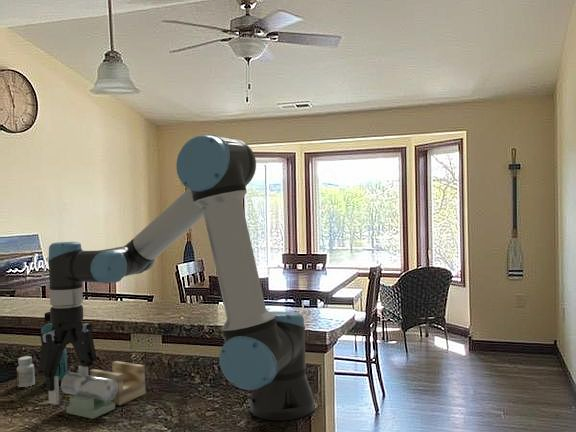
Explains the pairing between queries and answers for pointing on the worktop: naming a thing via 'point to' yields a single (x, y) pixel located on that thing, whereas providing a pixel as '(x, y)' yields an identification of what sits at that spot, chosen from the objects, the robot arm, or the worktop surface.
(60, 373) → the beverage bottle
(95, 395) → the axle
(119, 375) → the wooden bracket
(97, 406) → the v block
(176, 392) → the worktop surface
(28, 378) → the pill bottle
